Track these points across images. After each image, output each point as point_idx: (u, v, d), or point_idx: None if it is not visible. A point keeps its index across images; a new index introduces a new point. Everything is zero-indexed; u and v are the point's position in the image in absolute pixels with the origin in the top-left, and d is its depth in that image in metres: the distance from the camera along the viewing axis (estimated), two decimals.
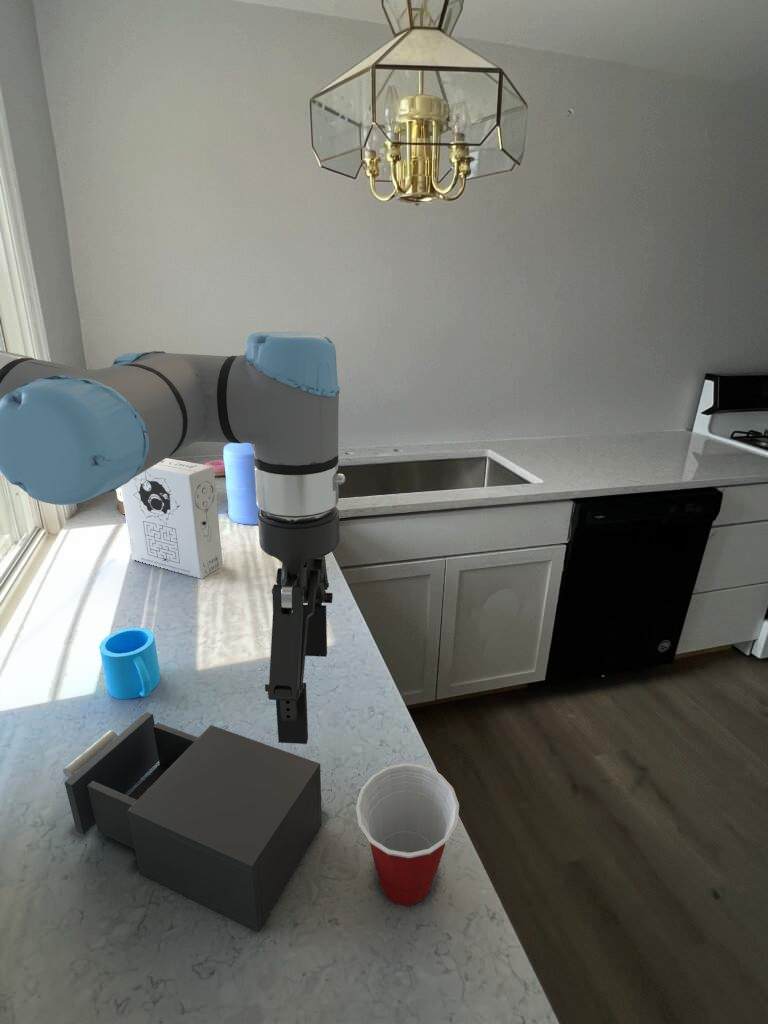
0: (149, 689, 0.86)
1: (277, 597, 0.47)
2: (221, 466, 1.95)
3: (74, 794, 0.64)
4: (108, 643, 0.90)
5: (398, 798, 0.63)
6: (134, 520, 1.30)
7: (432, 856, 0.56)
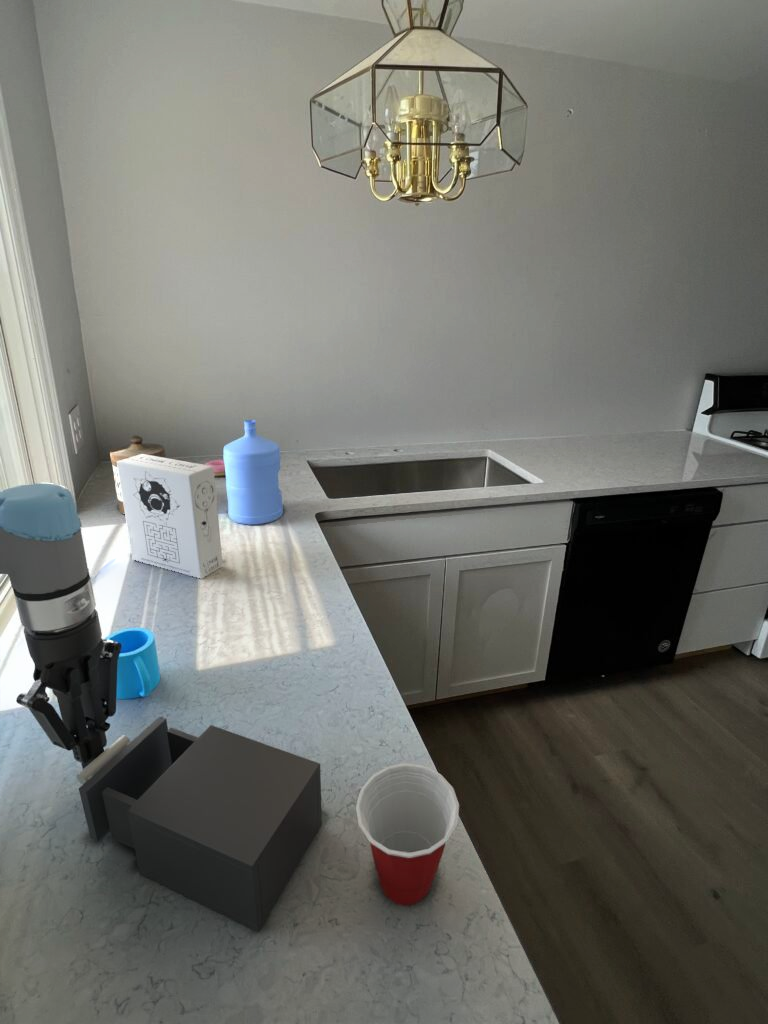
0: (149, 689, 0.86)
1: None
2: (221, 466, 1.95)
3: (88, 801, 0.63)
4: None
5: (398, 798, 0.63)
6: (134, 520, 1.30)
7: (432, 856, 0.56)
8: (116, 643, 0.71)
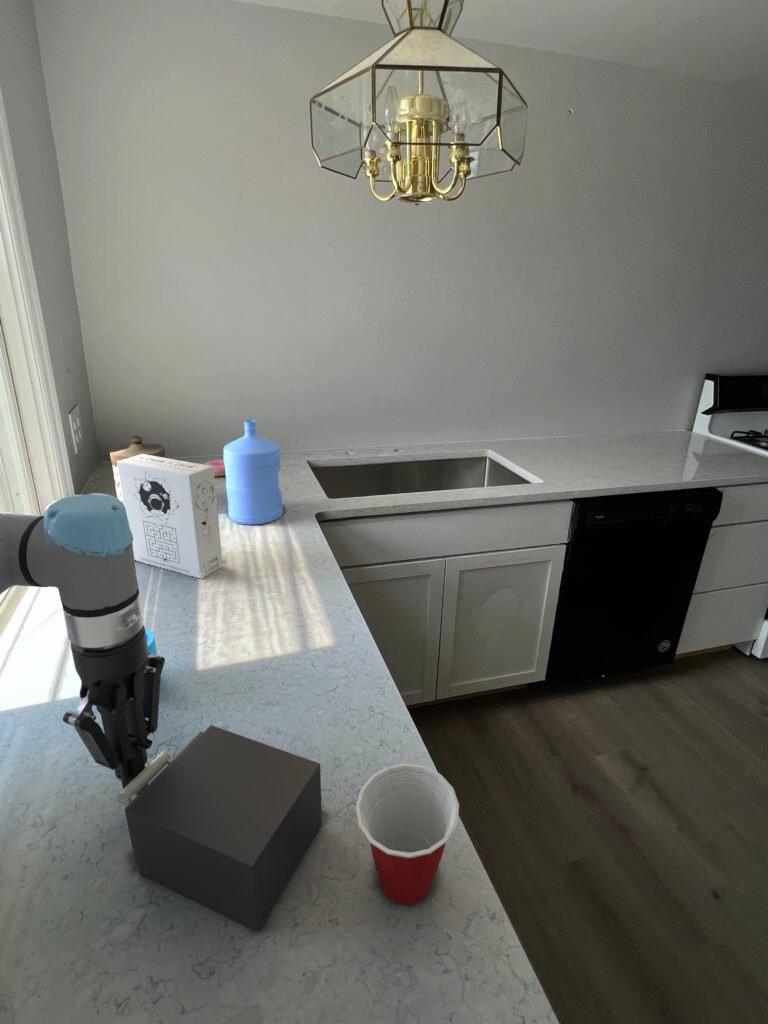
0: None
1: None
2: (221, 466, 1.95)
3: None
4: None
5: (398, 798, 0.63)
6: (134, 520, 1.30)
7: (432, 856, 0.56)
8: (160, 658, 0.69)
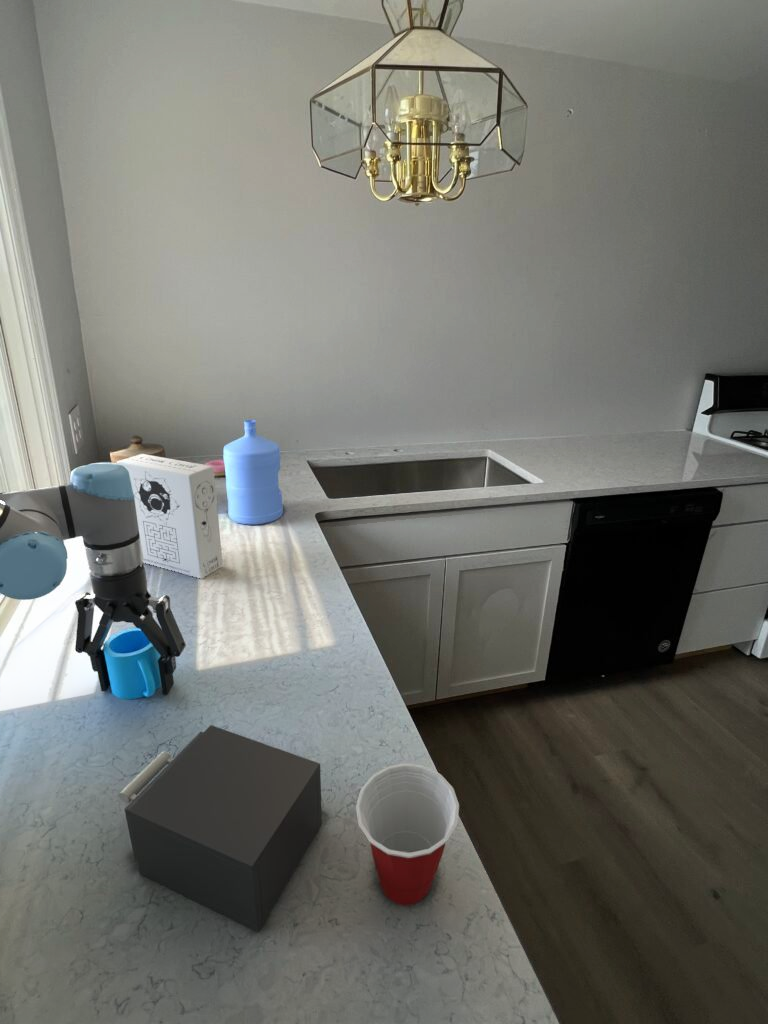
0: (153, 689, 0.86)
1: None
2: (221, 466, 1.95)
3: None
4: (112, 643, 0.90)
5: (398, 798, 0.63)
6: None
7: (432, 856, 0.56)
8: (158, 603, 0.84)
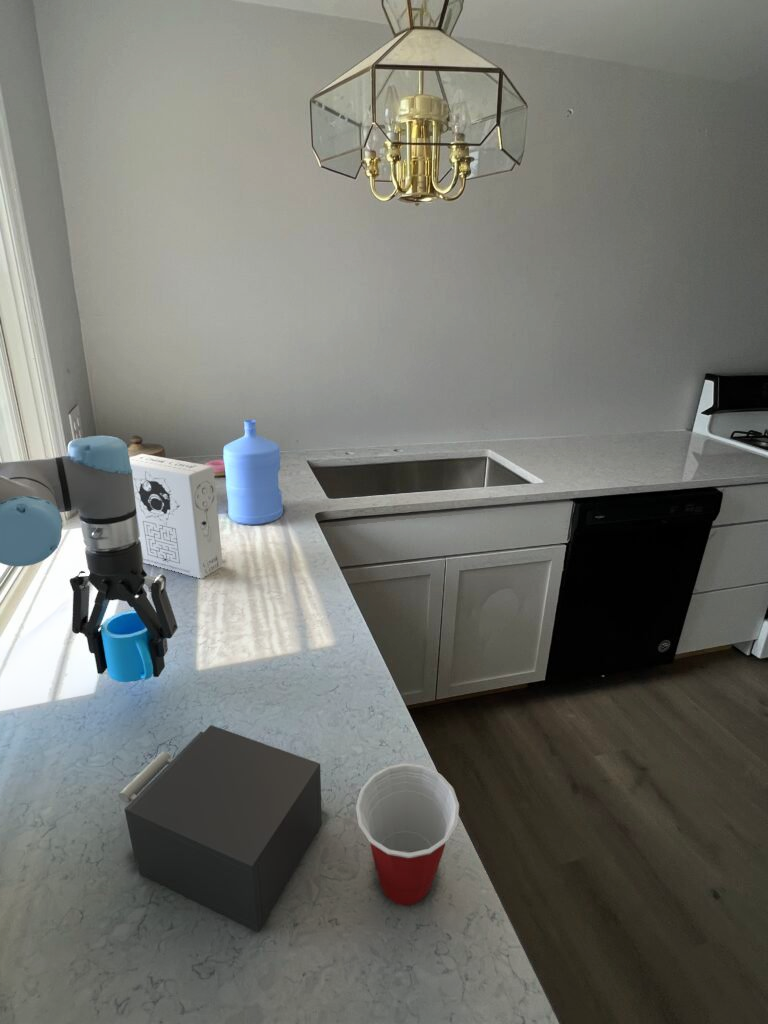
0: (151, 671, 0.85)
1: None
2: (221, 466, 1.95)
3: None
4: (110, 625, 0.89)
5: (398, 798, 0.63)
6: None
7: (432, 856, 0.56)
8: (154, 582, 0.83)
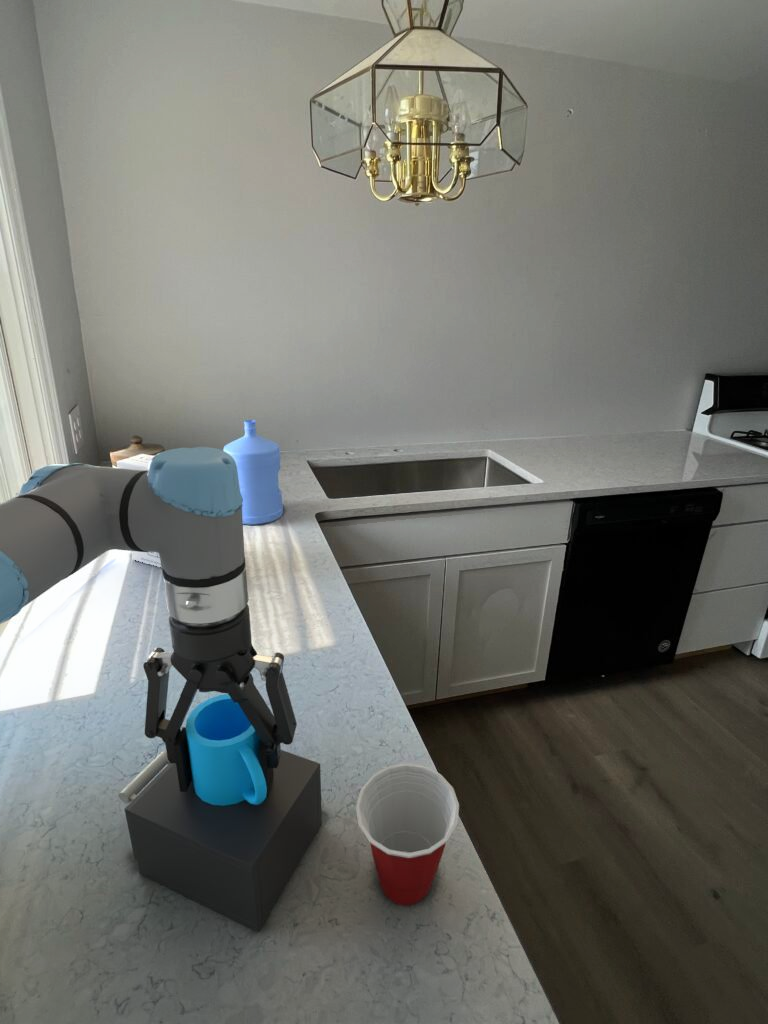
0: (264, 796, 0.57)
1: None
2: None
3: None
4: (197, 721, 0.61)
5: (398, 798, 0.63)
6: None
7: (432, 856, 0.56)
8: (270, 666, 0.55)
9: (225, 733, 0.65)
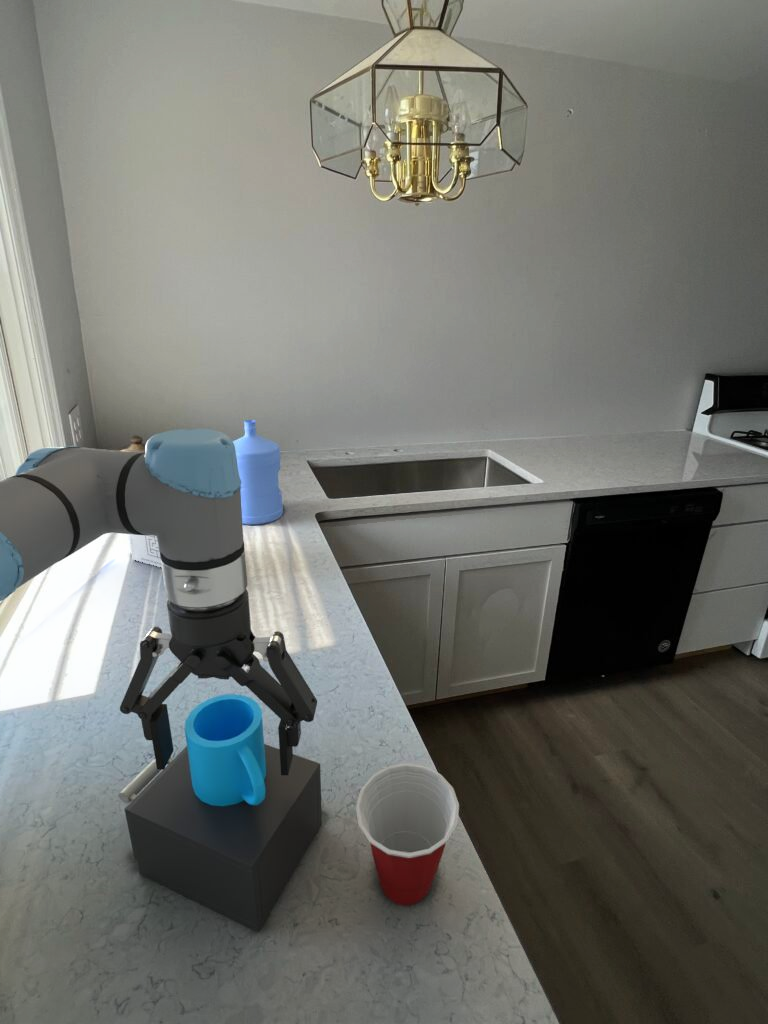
0: (263, 796, 0.57)
1: None
2: None
3: None
4: (196, 721, 0.61)
5: (398, 798, 0.63)
6: None
7: (432, 856, 0.56)
8: (269, 645, 0.54)
9: (224, 733, 0.65)
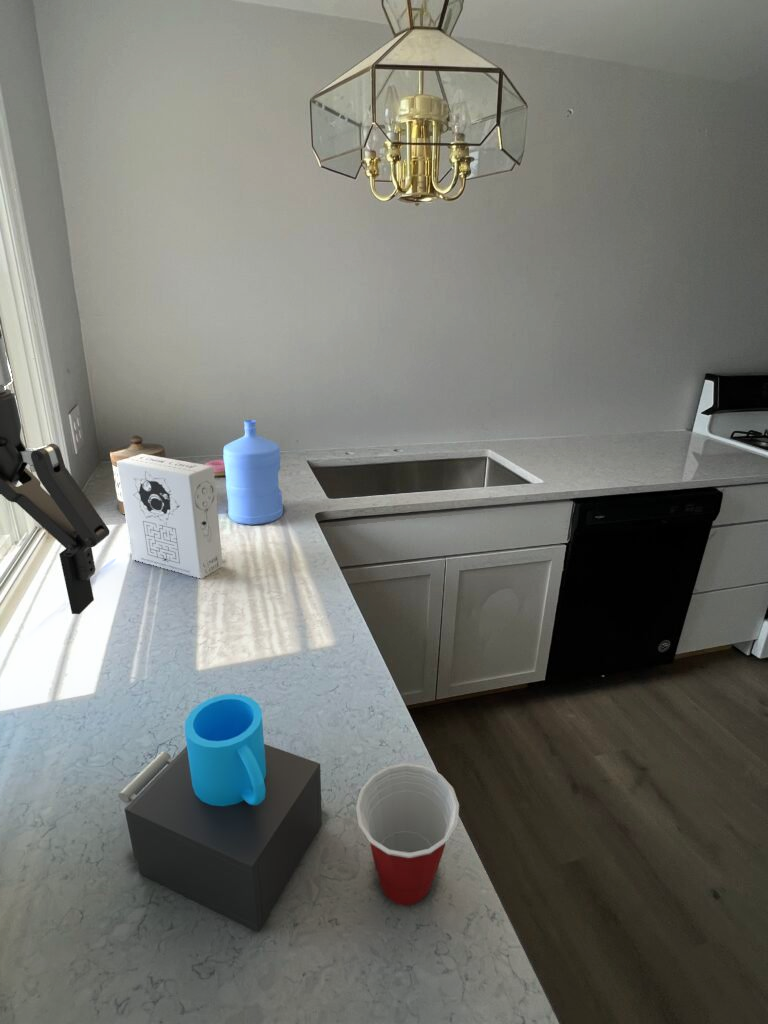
0: (263, 796, 0.57)
1: None
2: (221, 466, 1.95)
3: None
4: (196, 721, 0.61)
5: (398, 798, 0.63)
6: (134, 520, 1.30)
7: (432, 856, 0.56)
8: None
9: (224, 733, 0.65)
